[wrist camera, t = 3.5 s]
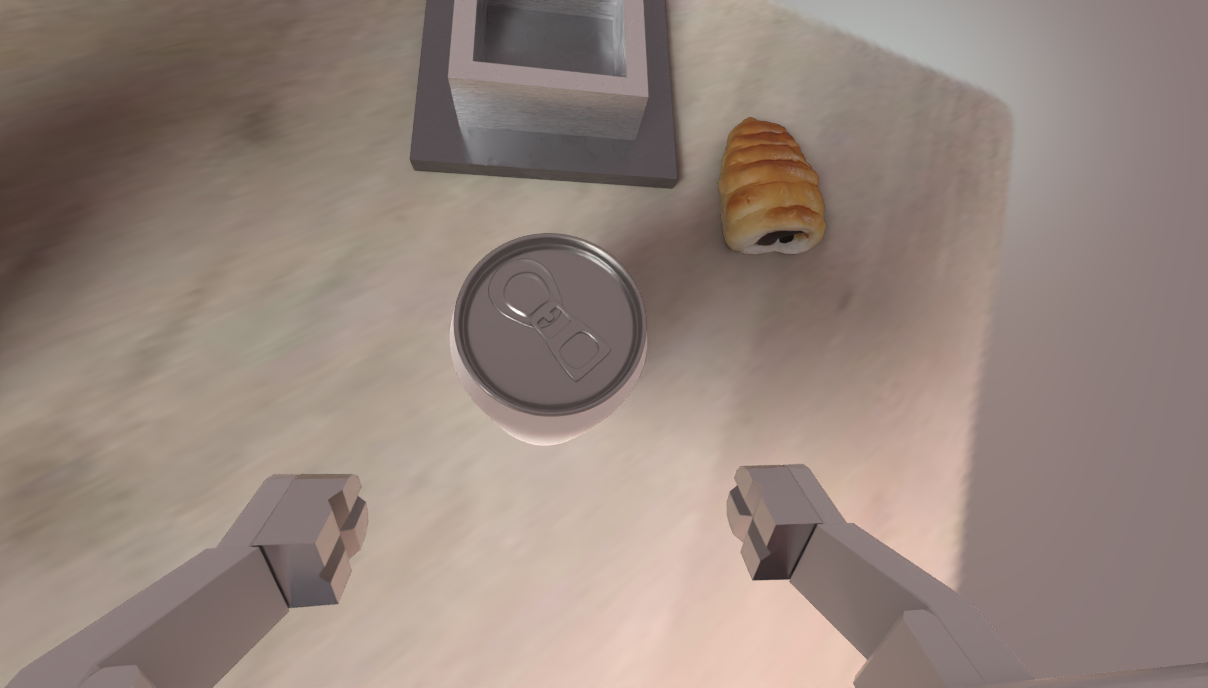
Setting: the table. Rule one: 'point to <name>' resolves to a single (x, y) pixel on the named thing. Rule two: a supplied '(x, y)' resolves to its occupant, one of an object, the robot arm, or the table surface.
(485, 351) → the can
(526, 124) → the collar
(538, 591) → the table surface
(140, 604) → the robot arm
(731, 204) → the pastry
